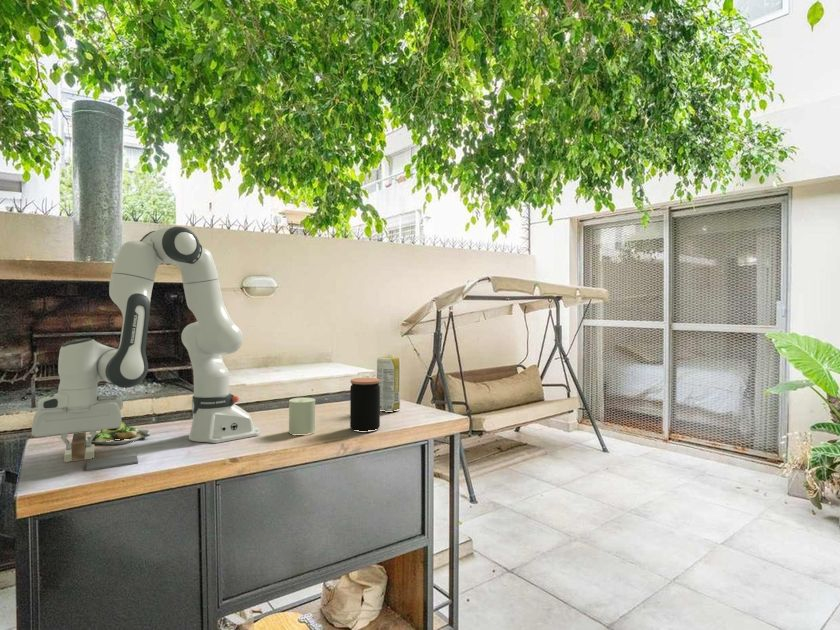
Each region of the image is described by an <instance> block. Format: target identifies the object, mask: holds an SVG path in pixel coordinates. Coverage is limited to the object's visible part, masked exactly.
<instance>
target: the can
mask: <svg viewBox="0 0 840 630" xmlns="http://www.w3.org/2000/svg"><path fill="white" fill-rule="evenodd" d="M288 407H289V408H288V410H289V411H288V412H289V413H288V416H289V417H288V421H289V422H288V434H289V433H291V434H308V433H312V432H314V431H316V398H313V397H295V398H291V399H289V400H288Z"/></svg>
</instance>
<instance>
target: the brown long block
mask: <svg viewBox="0 0 840 630" xmlns="http://www.w3.org/2000/svg"><path fill="white" fill-rule="evenodd" d="M86 433H87V432H78V433H72V434H73V435H72V440H71V442H72V444H71V451H72V461H71V462H76V461H77V460H78V461H85V460H86V459H85V451H86V448H85V440H86V436H87V434H86ZM84 459H85V460H84Z"/></svg>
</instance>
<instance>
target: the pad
mask: <svg viewBox="0 0 840 630" xmlns="http://www.w3.org/2000/svg"><path fill="white" fill-rule="evenodd" d="M138 464H139V458H138V454H134V455H132V454H131V455H127V456H125V455H124V456H119V457H111V458H104V459H103V458H102V459H97V460H96V459H95V460H88V461H87V462H86V468H85V469H86V471H87V470H89V471H95V470H94V469H96V470H101V469H100V468H103V469H107V468H106V467H110V468H114V467H113V466H117V467H124V466H129V465H138ZM87 472H88V471H87Z"/></svg>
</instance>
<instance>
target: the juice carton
mask: <svg viewBox="0 0 840 630" xmlns="http://www.w3.org/2000/svg"><path fill="white" fill-rule="evenodd" d="M394 356H395V354H389V353H388V355H386V356H379V357H377V358H376V378H377V379H380V382H379V386H380V410H385V411H394V410H397V409H401V357H394Z"/></svg>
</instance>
